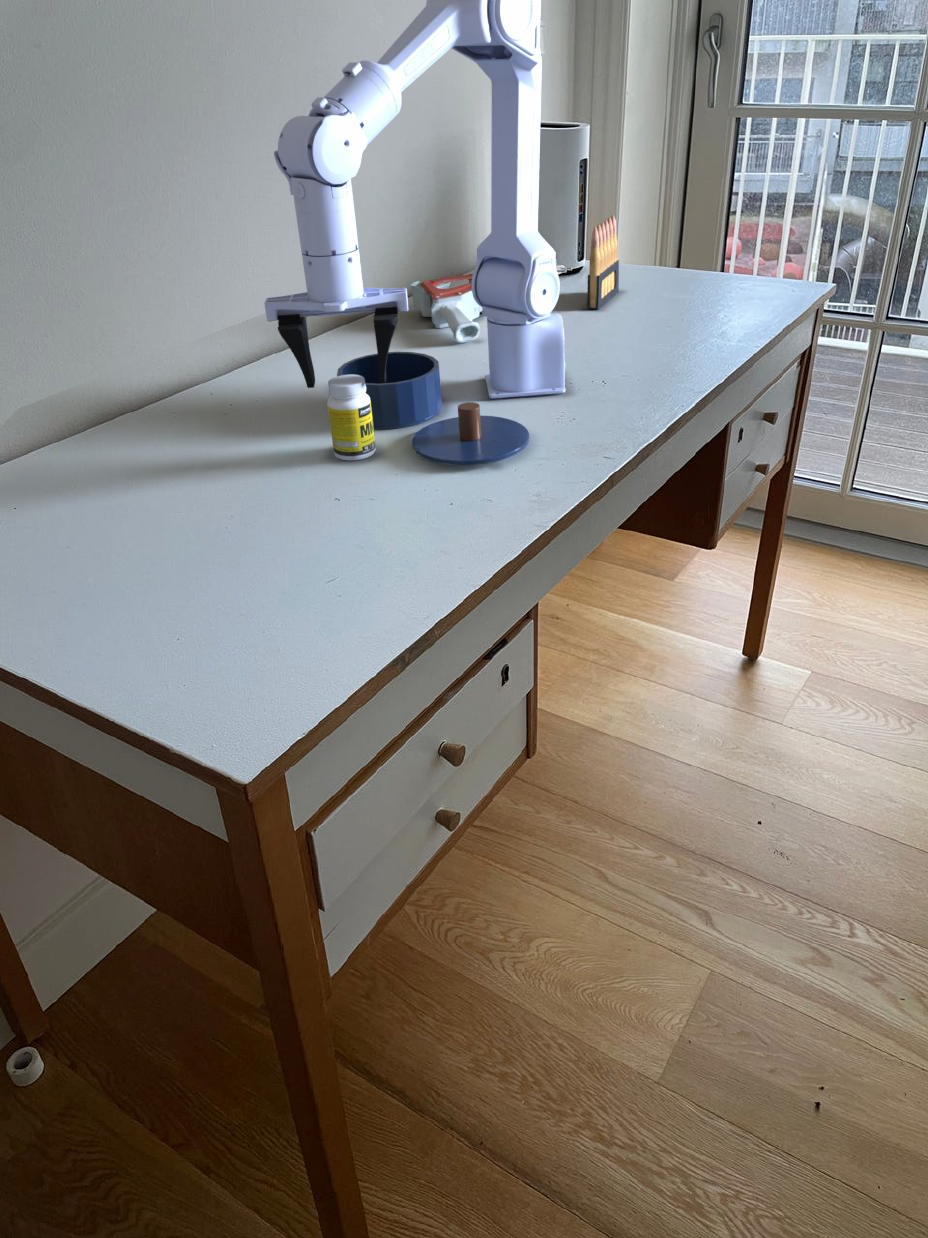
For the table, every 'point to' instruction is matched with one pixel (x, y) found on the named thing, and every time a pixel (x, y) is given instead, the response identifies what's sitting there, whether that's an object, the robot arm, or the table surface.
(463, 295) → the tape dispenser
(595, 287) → the ammunition clip
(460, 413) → the tin lid
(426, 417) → the tin
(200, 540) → the table surface
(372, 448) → the supplement bottle
